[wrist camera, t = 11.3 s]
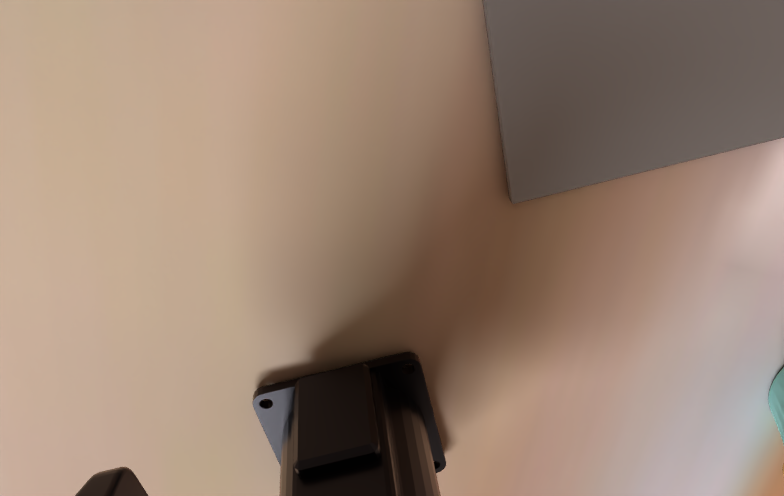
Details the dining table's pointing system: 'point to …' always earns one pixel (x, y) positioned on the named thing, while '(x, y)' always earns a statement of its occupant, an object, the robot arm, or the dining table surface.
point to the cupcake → (778, 402)
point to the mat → (630, 85)
